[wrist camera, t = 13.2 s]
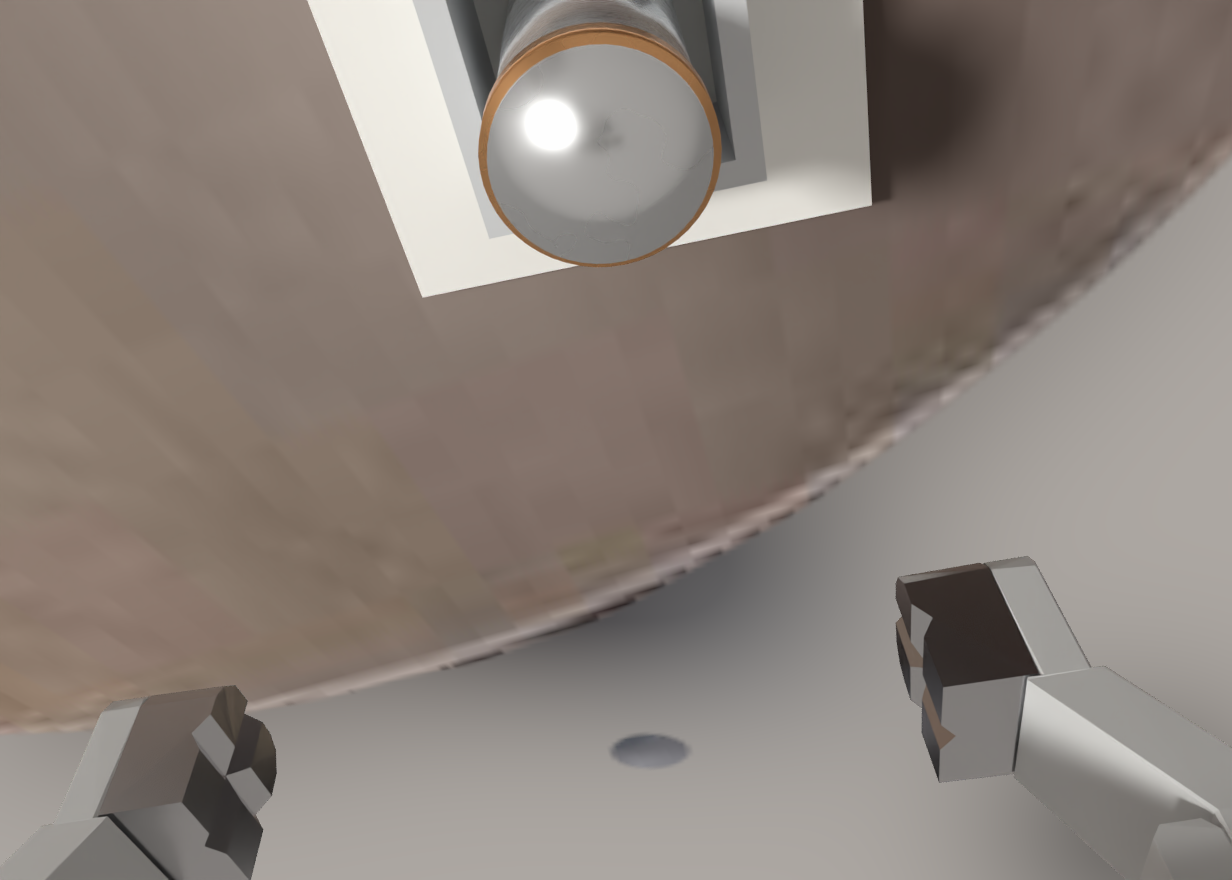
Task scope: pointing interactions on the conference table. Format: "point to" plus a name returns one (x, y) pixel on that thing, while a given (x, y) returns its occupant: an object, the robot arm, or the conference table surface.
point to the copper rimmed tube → (597, 130)
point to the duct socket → (718, 50)
